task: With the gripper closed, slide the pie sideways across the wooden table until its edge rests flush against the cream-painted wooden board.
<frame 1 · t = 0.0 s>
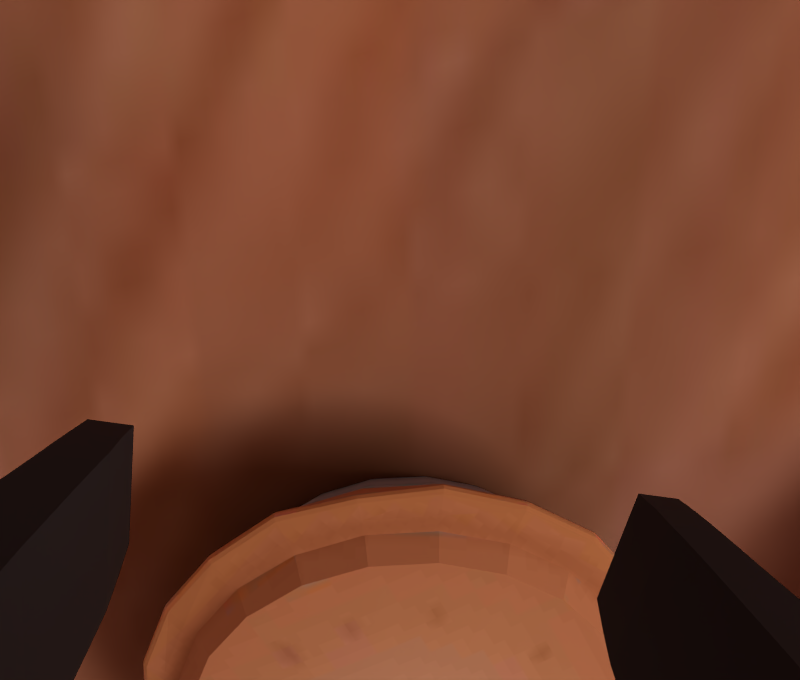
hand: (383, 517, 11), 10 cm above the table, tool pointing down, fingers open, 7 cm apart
pie: (403, 605, 25), on the table
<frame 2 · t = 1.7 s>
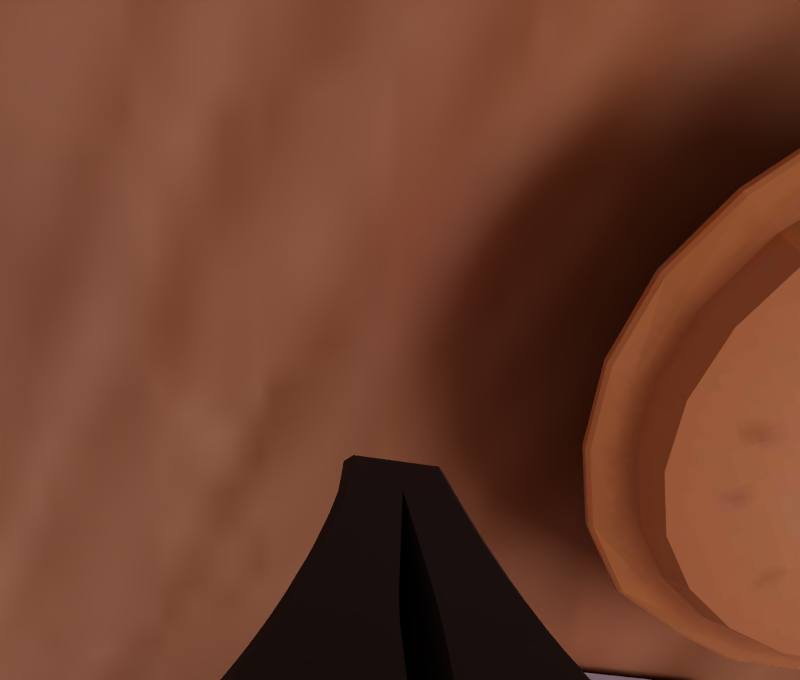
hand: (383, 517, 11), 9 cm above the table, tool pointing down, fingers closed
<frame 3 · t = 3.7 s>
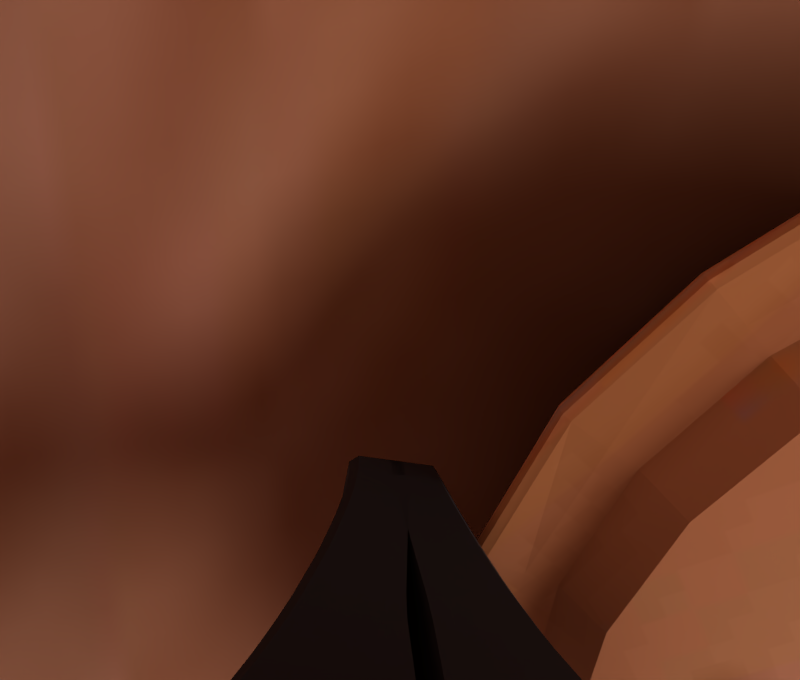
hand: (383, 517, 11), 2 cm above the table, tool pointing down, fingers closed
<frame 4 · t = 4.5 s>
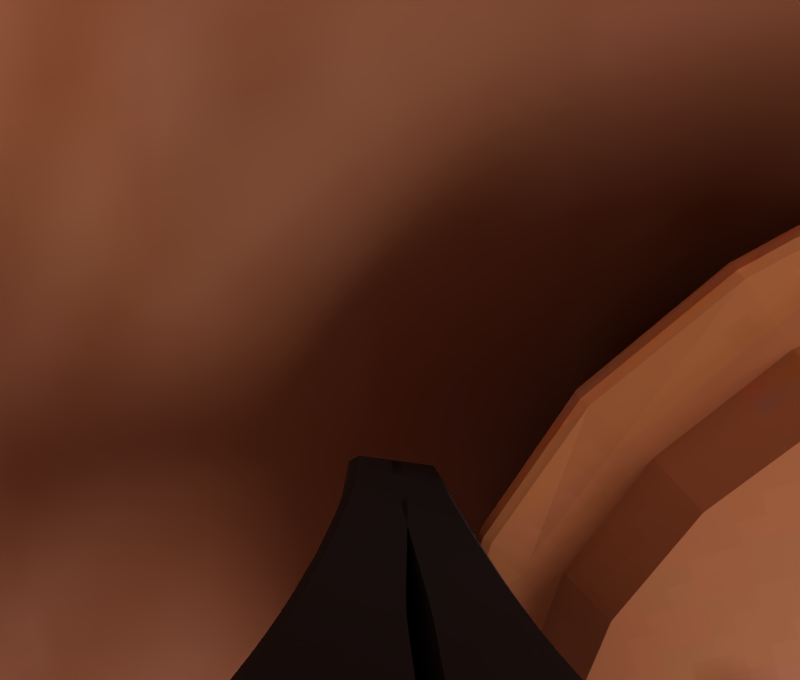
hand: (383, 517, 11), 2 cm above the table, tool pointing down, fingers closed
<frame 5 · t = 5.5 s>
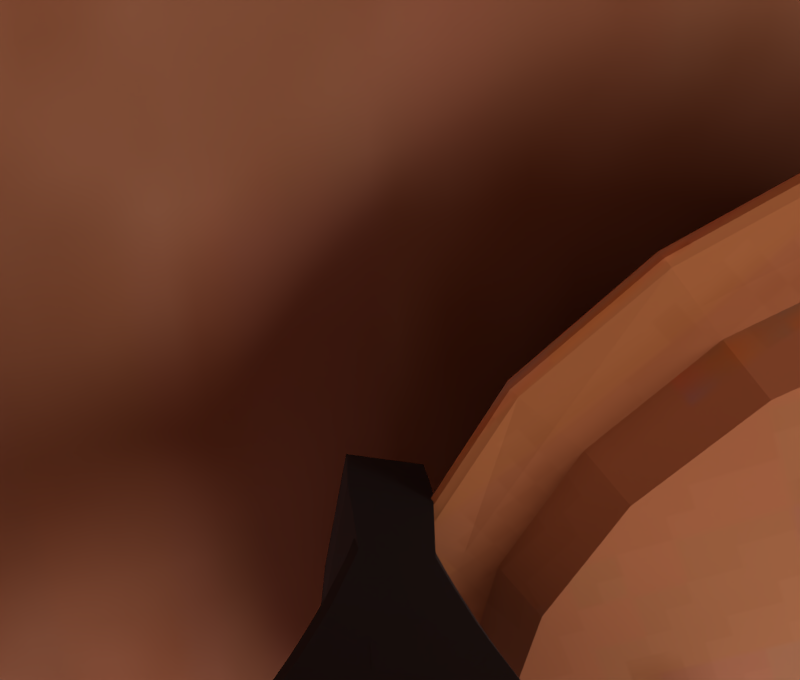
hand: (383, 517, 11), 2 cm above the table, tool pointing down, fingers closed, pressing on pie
pie: (797, 496, 14), on the table, touching board, gripper
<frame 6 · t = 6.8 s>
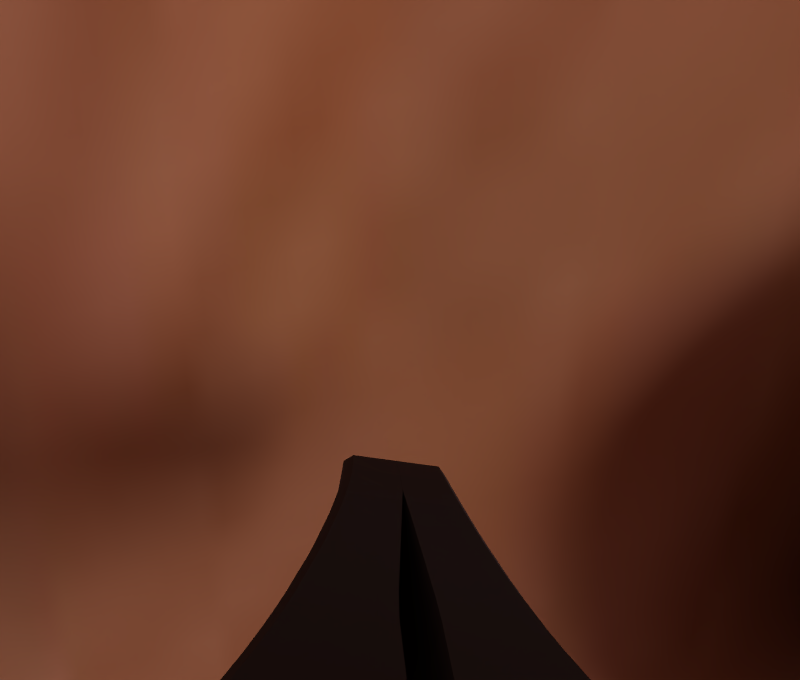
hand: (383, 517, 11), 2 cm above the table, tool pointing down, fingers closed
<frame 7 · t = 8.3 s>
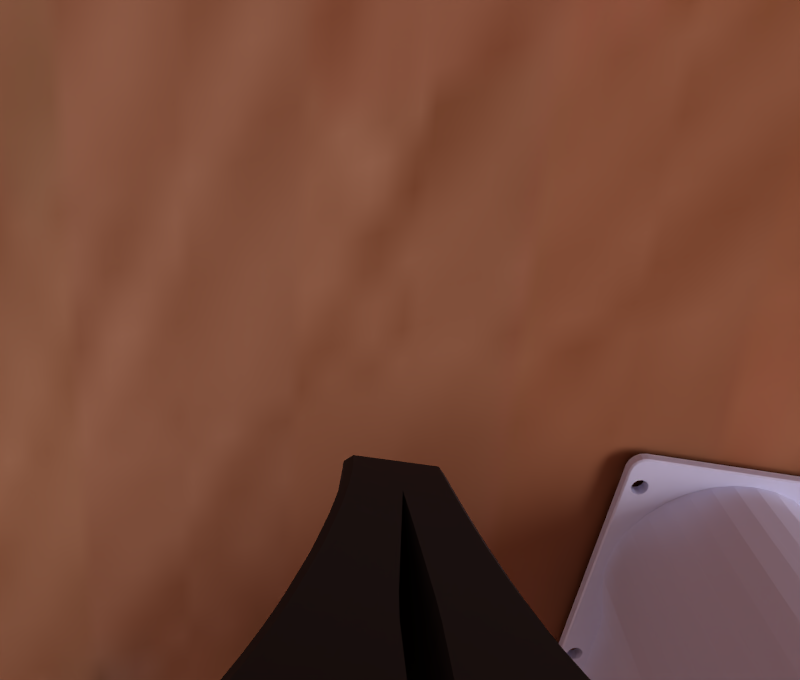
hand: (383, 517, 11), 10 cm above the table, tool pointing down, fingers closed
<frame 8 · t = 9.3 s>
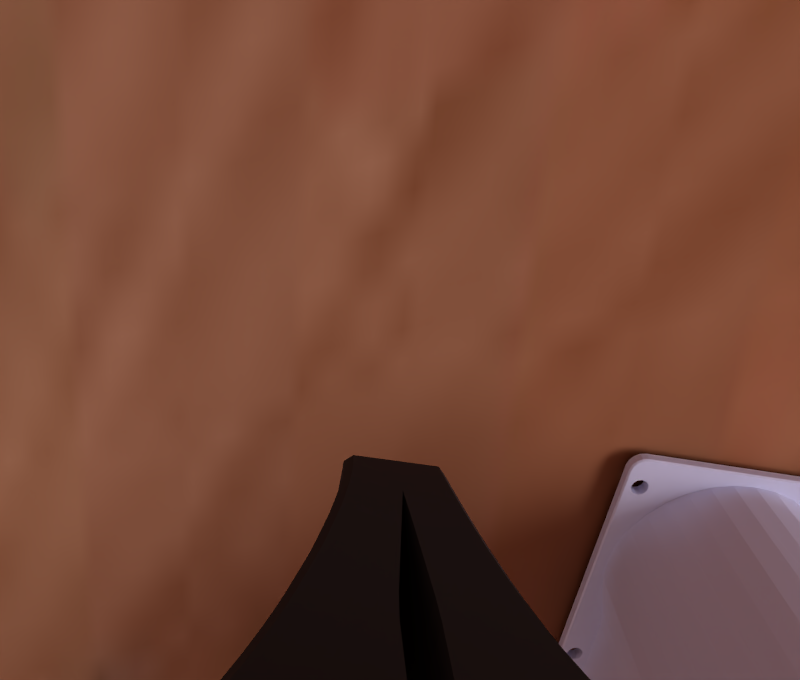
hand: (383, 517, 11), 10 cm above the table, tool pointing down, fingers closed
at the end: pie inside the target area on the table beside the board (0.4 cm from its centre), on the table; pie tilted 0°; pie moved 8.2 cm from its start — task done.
